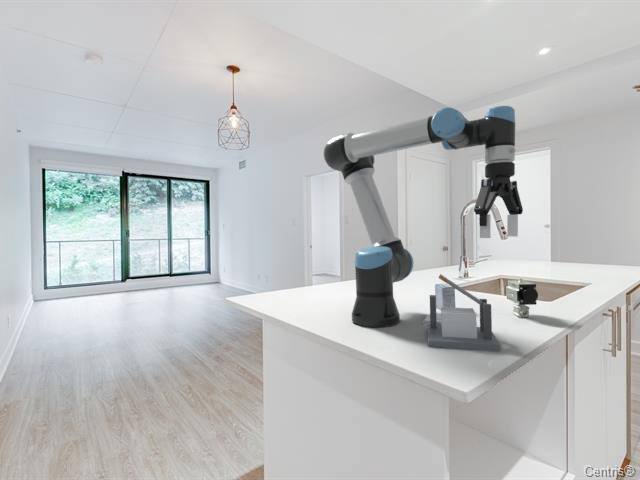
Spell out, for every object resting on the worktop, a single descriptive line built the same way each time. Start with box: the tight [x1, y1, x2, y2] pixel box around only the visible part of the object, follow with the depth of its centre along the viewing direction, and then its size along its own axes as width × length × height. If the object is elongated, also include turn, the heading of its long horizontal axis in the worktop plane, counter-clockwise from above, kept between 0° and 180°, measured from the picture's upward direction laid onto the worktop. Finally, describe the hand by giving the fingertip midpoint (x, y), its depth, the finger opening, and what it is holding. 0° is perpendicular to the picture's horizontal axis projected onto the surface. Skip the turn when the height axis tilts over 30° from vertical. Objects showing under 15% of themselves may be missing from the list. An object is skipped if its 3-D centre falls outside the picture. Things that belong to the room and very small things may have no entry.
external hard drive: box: [422, 310, 441, 325], centre depth 106 cm, size 2×8×12 cm
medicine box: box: [434, 283, 457, 311], centre depth 119 cm, size 8×4×9 cm, turn 179°
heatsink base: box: [427, 294, 501, 352], centre depth 87 cm, size 16×14×10 cm
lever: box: [438, 273, 488, 307], centre depth 86 cm, size 14×4×1 cm
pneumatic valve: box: [504, 278, 539, 319], centre depth 107 cm, size 6×12×12 cm, turn 174°
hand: (499, 237), depth 97 cm, fingers open, 13 cm apart
